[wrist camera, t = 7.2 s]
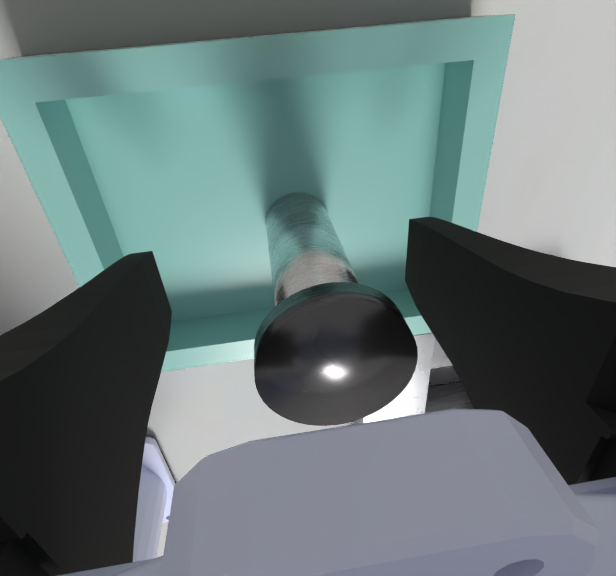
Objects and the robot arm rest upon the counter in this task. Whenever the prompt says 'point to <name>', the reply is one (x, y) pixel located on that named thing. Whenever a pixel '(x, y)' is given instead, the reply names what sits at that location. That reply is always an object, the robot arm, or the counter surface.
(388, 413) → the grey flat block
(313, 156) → the tray
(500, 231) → the counter surface
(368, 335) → the pin
